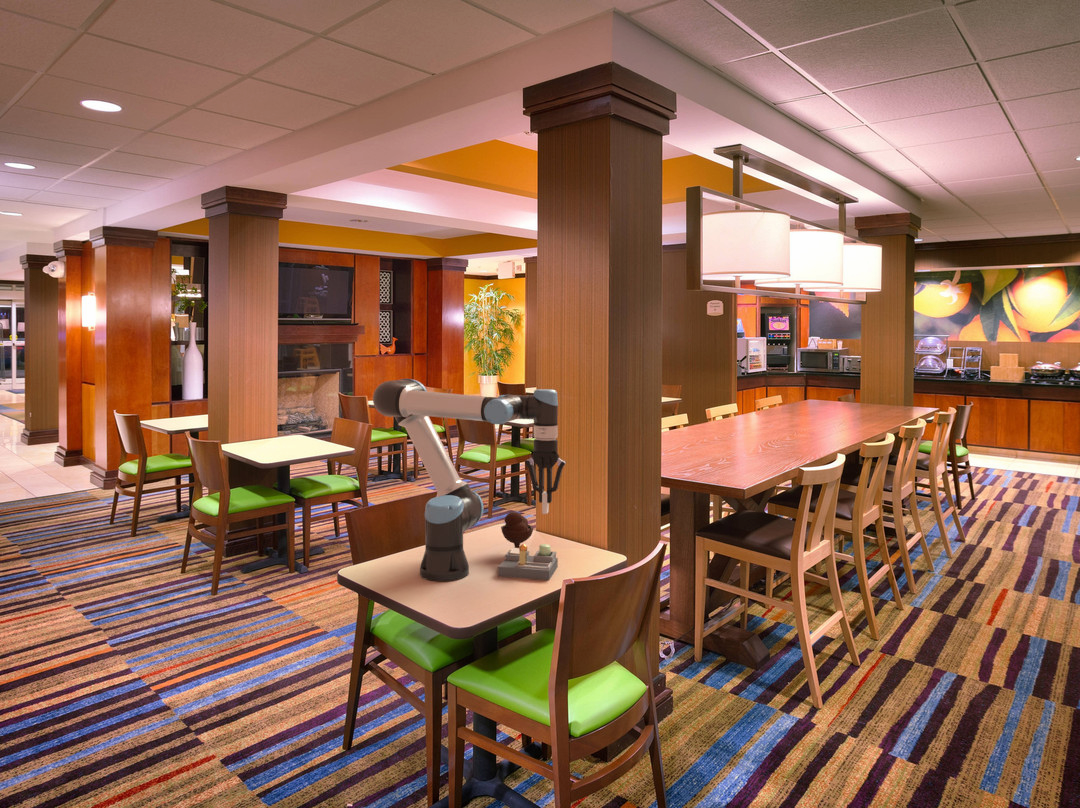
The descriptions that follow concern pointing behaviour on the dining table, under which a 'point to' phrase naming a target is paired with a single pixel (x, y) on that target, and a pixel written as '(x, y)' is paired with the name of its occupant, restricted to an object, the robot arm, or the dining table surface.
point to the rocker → (514, 551)
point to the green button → (544, 550)
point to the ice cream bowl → (516, 528)
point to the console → (529, 566)
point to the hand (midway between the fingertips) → (545, 512)
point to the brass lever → (523, 554)
